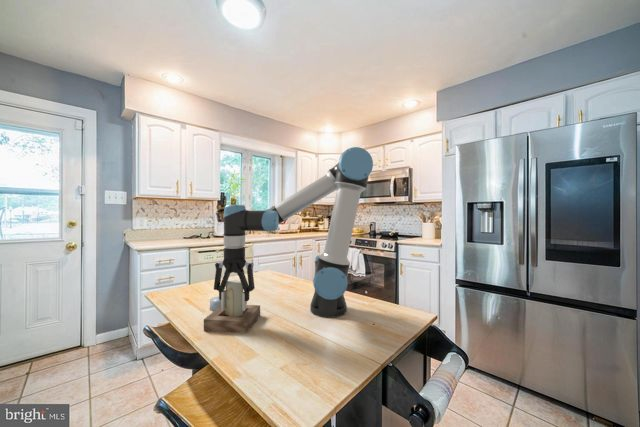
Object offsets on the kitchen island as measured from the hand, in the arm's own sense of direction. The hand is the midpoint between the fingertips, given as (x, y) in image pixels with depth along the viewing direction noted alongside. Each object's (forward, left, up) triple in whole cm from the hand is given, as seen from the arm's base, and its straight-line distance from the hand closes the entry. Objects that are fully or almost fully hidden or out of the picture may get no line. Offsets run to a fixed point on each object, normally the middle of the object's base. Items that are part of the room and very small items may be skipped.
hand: (234, 309), depth 97 cm
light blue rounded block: (+12, -13, -5) cm, 18 cm away
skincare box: (0, 0, -2) cm, 2 cm away
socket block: (0, 0, -5) cm, 5 cm away
